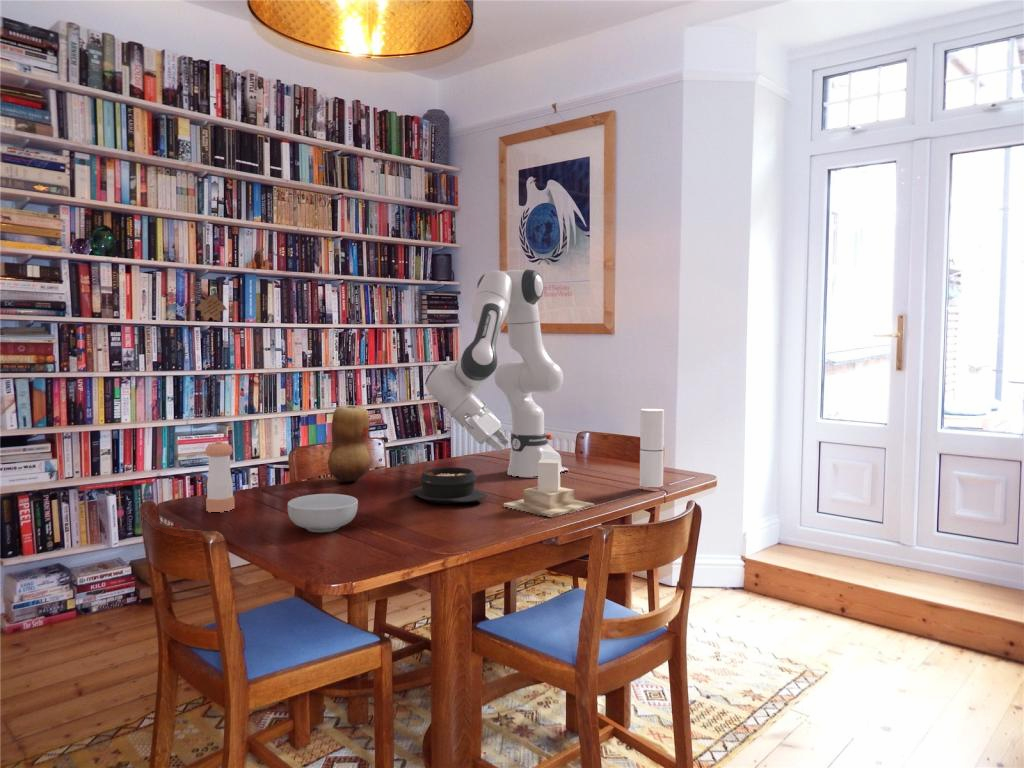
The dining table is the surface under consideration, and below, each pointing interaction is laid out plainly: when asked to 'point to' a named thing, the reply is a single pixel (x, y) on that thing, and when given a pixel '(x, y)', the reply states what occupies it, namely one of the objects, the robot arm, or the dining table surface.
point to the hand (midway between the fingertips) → (504, 446)
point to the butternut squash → (349, 443)
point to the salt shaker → (219, 478)
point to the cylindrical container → (651, 447)
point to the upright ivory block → (549, 475)
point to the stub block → (548, 502)
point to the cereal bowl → (322, 511)
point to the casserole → (448, 486)
